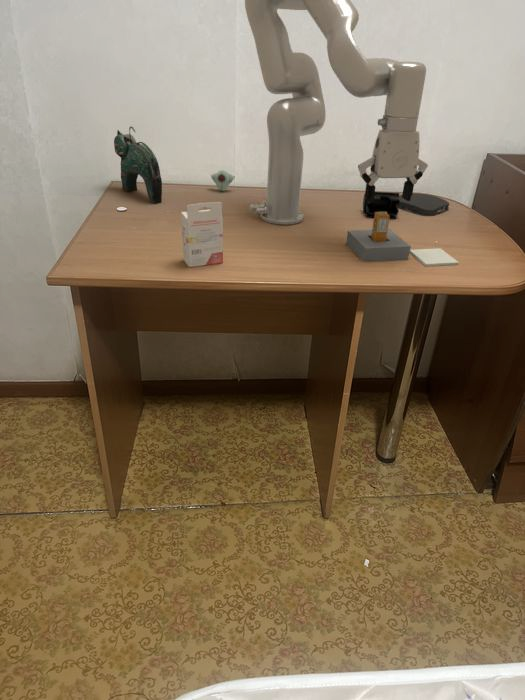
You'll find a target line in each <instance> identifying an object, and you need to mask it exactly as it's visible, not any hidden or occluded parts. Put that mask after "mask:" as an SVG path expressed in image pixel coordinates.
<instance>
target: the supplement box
mask: <svg viewBox="0 0 525 700" xmlns="http://www.w3.org/2000/svg"><path fill="white" fill-rule="evenodd" d="M389 217H390V215H388V214H387V212H375V216H374V218H373V224H372V229H371V230H372V236H371V240H372V241H374V242H383V241H386V238H387V231H388V229H389V223H390V219H389Z"/></svg>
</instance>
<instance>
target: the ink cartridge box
mask: <svg viewBox="0 0 525 700" xmlns="http://www.w3.org/2000/svg"><path fill="white" fill-rule="evenodd" d="M204 208H207V209H204ZM180 213H181V214H180V217H181V218H180V219H181V220H180V221H181V237H182V238H181V239H182V241H181V242H182V259H183V262H184V263H185V264H186V265H187V266H188V268H194V267H202V266H209V265H216V264H218V265H219V264H223V262H224V254H223V253H224V250H223V249H224V241H223V240H224V224H223V223H224V222H223V221H224V220H223V219H224V218H223V215H222V214H223V204H222V202H221V201H214V202H198V203H191V204H186V211H181V212H180Z"/></svg>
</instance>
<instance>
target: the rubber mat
mask: <svg viewBox="0 0 525 700" xmlns="http://www.w3.org/2000/svg"><path fill="white" fill-rule="evenodd" d="M409 254H411V256H413V257H414V258H415V259H416V260H417V261H419V262H420V263H421V264H422V265H423V266H425V267H437V266H439V267H440V266H454V265H459V263H460V262H459V261H458V260H457V259H455V258H454V257H453V256H451V255H450V254H449V253H447V252H446V251H444V250H443V249H442V248H441V247H440V248H437V247H436V248H420V249H419V248H418V249H410V252H409Z"/></svg>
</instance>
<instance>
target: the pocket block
mask: <svg viewBox="0 0 525 700" xmlns="http://www.w3.org/2000/svg"><path fill="white" fill-rule="evenodd" d="M371 236H372V229H361V230H360V229H357V230H356V229H355V230H347V234H346V240H345V244H346V245H347V246H348V248H350V249H351V250H352V252H354V253H355V255H356V256H357V257H358V258H359V259H360V260H361V261H362V263H363V262H364V263H365V262H387V261H388V262H389V261H401V260H402V261H404V260H409V256H410V253H409V252H410V250H411V248H412V247H411V245H410V244H409V243H408V242H406V241H405V240H404V239H402V237H400V236H399V235H398V234H397V233H396V232H395V231H393V230H392V229H390V228H388V231H387V238H386V241H383V242H374V241H372V240H371Z"/></svg>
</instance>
